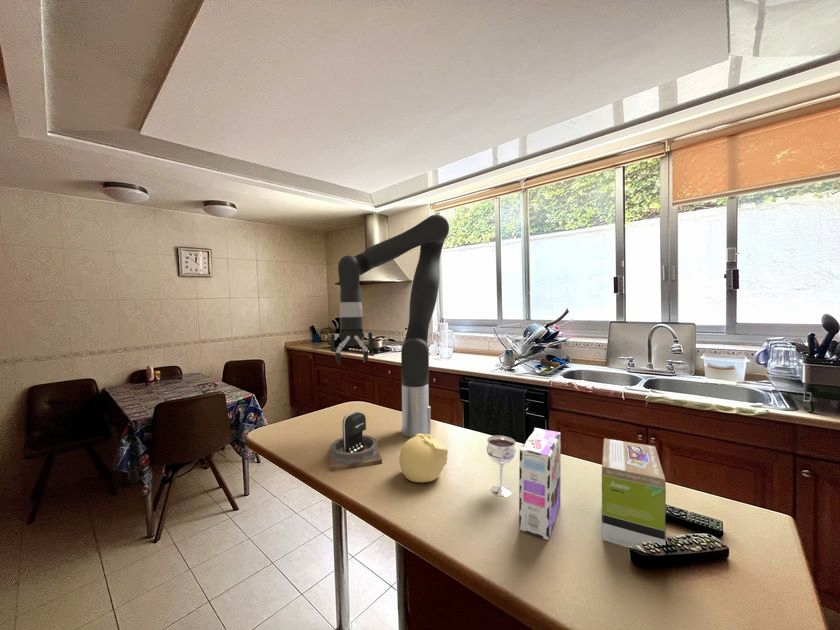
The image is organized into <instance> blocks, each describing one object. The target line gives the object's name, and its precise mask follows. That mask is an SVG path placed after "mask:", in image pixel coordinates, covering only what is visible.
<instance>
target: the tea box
mask: <svg viewBox="0 0 840 630" xmlns="http://www.w3.org/2000/svg"><path fill="white" fill-rule="evenodd" d="M602 446H603V447H602V462H601V536H602V537H601V538H602V541H604V542H607V541H608V542H607V543H610V542H611V544H613V543H614V544H613V545H616V544H618V545H617V546H619V545H620V547H623V546H624V547H623V548H626V547H628V548H627V549H629V548H630V546H631V545H632V544H635V543H640V542H647V541H652V542H654V543H657V544H661V545H666V540H667V539H666V530H667V529H666V527H667V526H666V523H667V522H666V521H667V519H666V517H667V516H666V513H667V512H666V508H667V507H666V503H667V502H666V497H667V495H666V493H667V492H666V491H667V487H666V477H665V473H664V471H663V467H662V465H661V460H660V457H659V454H658V451H657V447H656V446H655V445H650V444H643V443H635V442H629V441H622V440H618V439H610V438H606V437H604V438H603V445H602ZM666 546H667V545H666Z"/></svg>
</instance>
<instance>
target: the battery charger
mask: <svg viewBox="0 0 840 630" xmlns="http://www.w3.org/2000/svg"><path fill="white" fill-rule="evenodd" d="M366 430H367V420H366V415H365V414H364V413H361V412H359V411H355V412H352V413H350V414H347V415H345V416H344V417H343V420H342V438H343V452H347V453H354V452H360V451H362V450H363V449H364V444H363V440H362V435H363V431H366Z"/></svg>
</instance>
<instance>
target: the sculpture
mask: <svg viewBox="0 0 840 630" xmlns="http://www.w3.org/2000/svg"><path fill="white" fill-rule="evenodd" d="M448 453H449V451H448V448H447V447H446V445H444V443H442V442H441V441H440V440H439V439H438V438H437V437H435V436H434V435H433V434H432V433H431V434H416V435H415V437H413V438H411V437H410V438H409V439H407V441H405V443H403V445H402V447H401V449H400V453H399V458H398V459H399V466H400V469H401V472H402V474H403V476H404V477H405V478H406V479H407V480H409V481H411V482H415V483H429V482H433V481H435V480H437V478H438V477H440V475H441V473H442V471H443V469H444V467H445V466H446V465H447V463H448V462H447V461H448Z"/></svg>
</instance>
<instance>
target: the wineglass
mask: <svg viewBox="0 0 840 630" xmlns="http://www.w3.org/2000/svg"><path fill="white" fill-rule="evenodd" d="M486 441H487V443H488V444H487V445H486V452H487V455H488V457H489V458H490V459H491V460H492V461H493V462H495V463H496V464H498V465H499V484H494V485H492V486H491V487H490V491H491V493H493V495H495V496H499V497H508V496H510V495H512V492H513V491H512V489H511V488H510V487H509V486H507V485H504V484H503V473H504V472H503V468H504V465H506V464H509V463H510V462H511V461H512V460H514V459H515V456H516V453H517V450H516V447H515V445H516V440H515V439H513V438H512V437H509V436H505V435H491V436H490V437H488V438H487V439H486Z"/></svg>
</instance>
